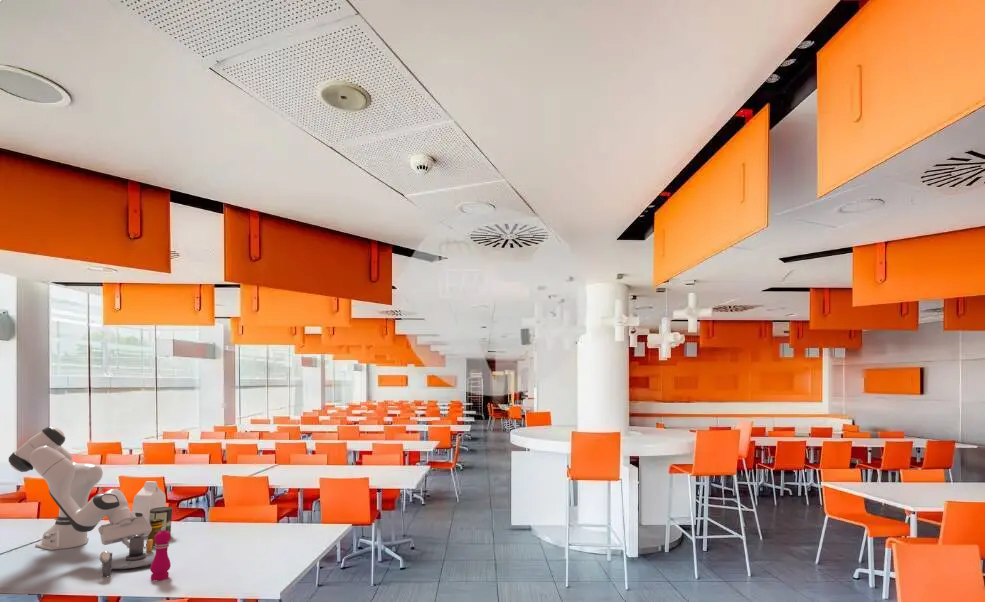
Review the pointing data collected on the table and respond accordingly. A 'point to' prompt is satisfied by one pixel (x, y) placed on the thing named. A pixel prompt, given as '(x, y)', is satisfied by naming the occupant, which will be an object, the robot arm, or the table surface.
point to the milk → (148, 499)
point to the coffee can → (162, 516)
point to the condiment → (155, 529)
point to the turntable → (121, 563)
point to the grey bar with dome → (106, 563)
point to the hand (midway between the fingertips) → (132, 546)
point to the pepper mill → (161, 556)
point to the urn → (136, 548)
